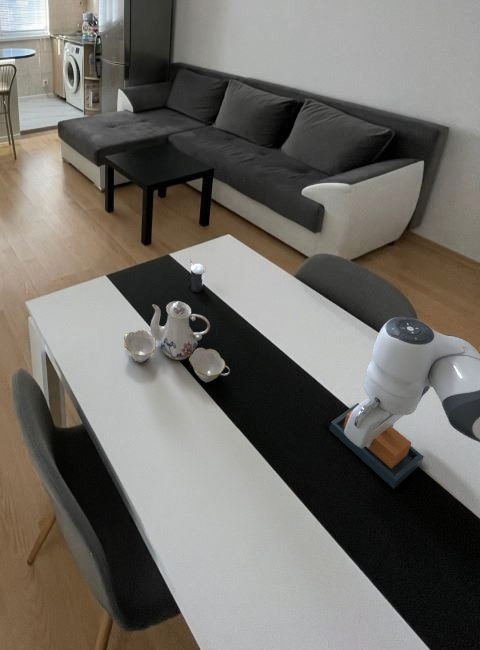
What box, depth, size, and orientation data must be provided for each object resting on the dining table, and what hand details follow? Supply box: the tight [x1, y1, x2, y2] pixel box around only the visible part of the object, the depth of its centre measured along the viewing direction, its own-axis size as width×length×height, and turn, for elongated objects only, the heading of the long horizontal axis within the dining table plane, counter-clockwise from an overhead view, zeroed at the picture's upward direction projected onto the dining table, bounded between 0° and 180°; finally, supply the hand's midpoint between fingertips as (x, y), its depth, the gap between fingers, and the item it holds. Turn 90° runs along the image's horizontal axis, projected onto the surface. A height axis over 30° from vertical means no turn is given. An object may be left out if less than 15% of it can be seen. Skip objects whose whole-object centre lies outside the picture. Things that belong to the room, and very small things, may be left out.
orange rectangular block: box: [344, 409, 412, 469], centre depth 90 cm, size 10×6×5 cm, turn 27°
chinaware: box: [123, 300, 231, 383], centre depth 113 cm, size 28×17×17 cm, turn 73°
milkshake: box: [189, 259, 206, 293], centre depth 138 cm, size 4×5×10 cm
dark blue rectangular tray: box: [328, 402, 425, 490], centre depth 91 cm, size 14×10×2 cm
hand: (376, 435), depth 91 cm, fingers closed on orange rectangular block, 5 cm apart
